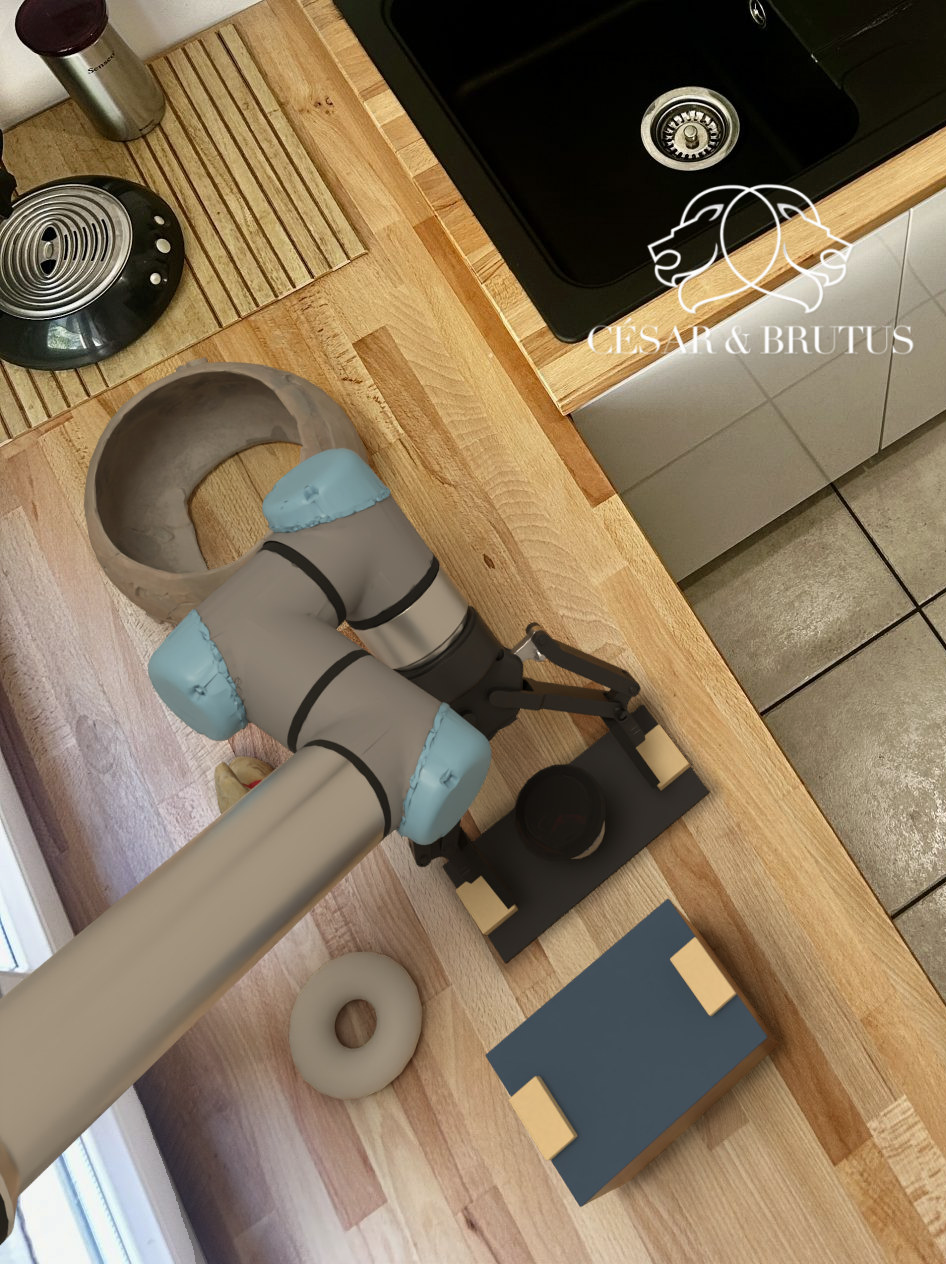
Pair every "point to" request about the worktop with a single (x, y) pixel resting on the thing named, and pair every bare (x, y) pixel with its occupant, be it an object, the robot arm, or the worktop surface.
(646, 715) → the mat
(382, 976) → the donut
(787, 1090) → the worktop surface
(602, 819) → the coffee cup
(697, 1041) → the blue slab
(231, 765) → the tan rounded lumpy piece
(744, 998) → the stand
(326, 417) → the bowl
